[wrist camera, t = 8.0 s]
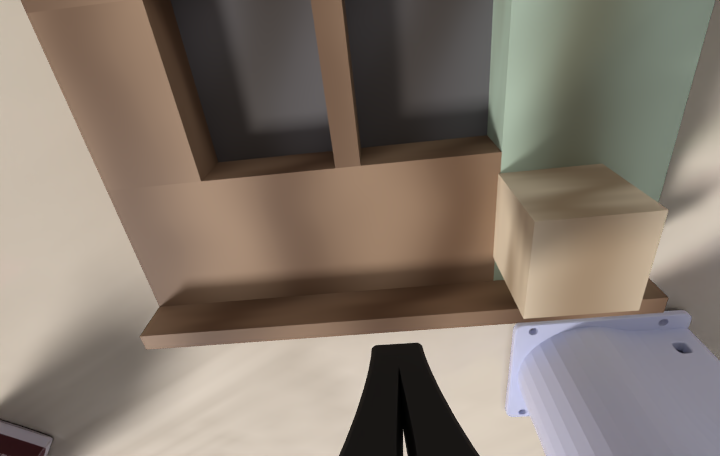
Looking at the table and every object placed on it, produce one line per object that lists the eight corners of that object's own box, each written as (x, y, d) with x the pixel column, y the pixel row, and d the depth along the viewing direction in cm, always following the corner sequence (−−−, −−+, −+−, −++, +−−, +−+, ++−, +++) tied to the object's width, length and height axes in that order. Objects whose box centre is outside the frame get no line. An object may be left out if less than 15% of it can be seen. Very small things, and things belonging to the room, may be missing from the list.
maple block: (602, 163, 16) (668, 210, 12) (585, 249, 18) (638, 310, 14) (498, 173, 16) (534, 221, 13) (493, 256, 18) (523, 318, 15)
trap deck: (693, -122, 14) (826, -171, 10) (607, 253, 21) (663, 312, 17) (55, -35, 15) (-56, -47, 11) (184, 287, 22) (146, 349, 18)
